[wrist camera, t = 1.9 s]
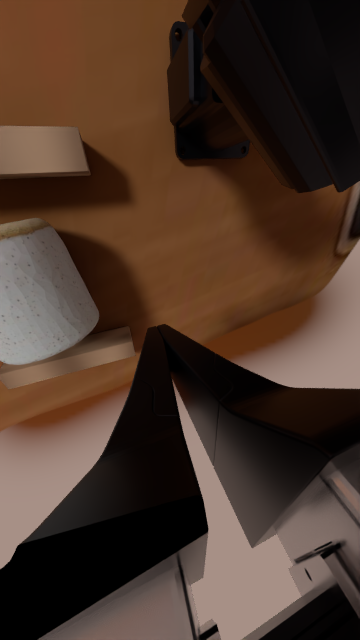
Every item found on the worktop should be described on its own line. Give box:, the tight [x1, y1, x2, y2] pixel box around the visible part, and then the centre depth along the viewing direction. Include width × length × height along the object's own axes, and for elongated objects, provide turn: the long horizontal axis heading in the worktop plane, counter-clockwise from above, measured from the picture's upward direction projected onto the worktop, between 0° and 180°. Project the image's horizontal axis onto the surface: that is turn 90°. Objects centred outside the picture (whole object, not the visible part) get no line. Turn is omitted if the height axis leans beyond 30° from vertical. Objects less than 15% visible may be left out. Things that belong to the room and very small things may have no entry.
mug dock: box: [0, 126, 136, 389], centre depth 16 cm, size 12×18×3 cm, turn 5°
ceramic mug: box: [0, 218, 99, 365], centre depth 13 cm, size 11×8×8 cm
